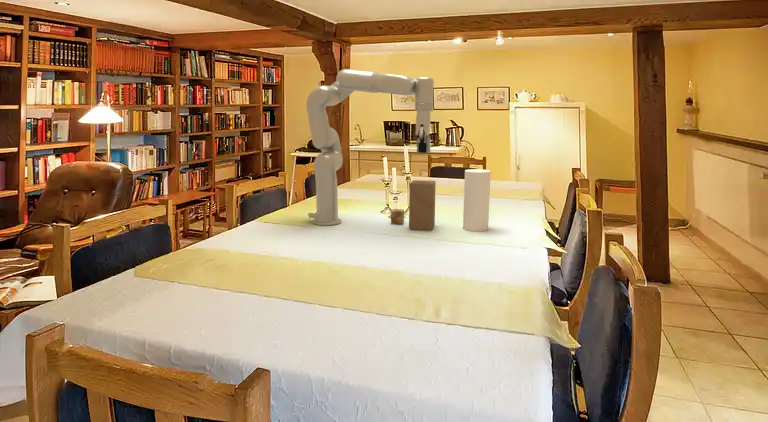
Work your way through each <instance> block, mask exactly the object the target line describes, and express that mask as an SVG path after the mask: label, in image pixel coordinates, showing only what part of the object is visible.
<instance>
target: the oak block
mask: <svg viewBox="0 0 768 422" xmlns="http://www.w3.org/2000/svg"><path fill="white" fill-rule="evenodd" d="M404 223H405V209H403V208H402V209H397V208H393V209H392V210H391V211H390V225H394V226H395V225H396V226H397V225H398V226H399V225H400V226H402V225H404Z"/></svg>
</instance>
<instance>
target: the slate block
mask: <svg viewBox="0 0 768 422" xmlns="http://www.w3.org/2000/svg"><path fill="white" fill-rule="evenodd" d="M418 148H419V137H417V138H416V154H420V153H419V152H418ZM430 153H431V137H428V138H426V153H425V154H430Z"/></svg>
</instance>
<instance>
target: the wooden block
mask: <svg viewBox="0 0 768 422" xmlns="http://www.w3.org/2000/svg"><path fill="white" fill-rule="evenodd" d="M408 188H409V191H408V192H409V195H408V196H409V197H408V198H409V201H408V203H409V205H408V207H409V209H408V213H409V214H408V217H409V218H408V229H409V230H411V231H412V230H415V231H430V232H431V231H433V229H434V227H435V225H436V223H435V222H436V181H435V180H421V179H419V180H418V179H415V180H414V179H413V180H411V182H410V183H409V187H408Z"/></svg>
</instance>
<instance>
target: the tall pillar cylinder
mask: <svg viewBox="0 0 768 422" xmlns="http://www.w3.org/2000/svg"><path fill="white" fill-rule="evenodd" d="M491 172H492V171H491V170H489V169H481V168H480V169H478V168H475V169H473V168H472V169H464V181H463V182H464V186H463V188H464V189H463V210H462V211H463V213H462V214H463V215H462V217H463V219H462V229H463V230H466V231H469V232H485V231H488V230H489V222H490V221H489V217H490V216H489V215H490V213H489V212H490V197H491V194H490V193H491V174H492V173H491Z"/></svg>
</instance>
